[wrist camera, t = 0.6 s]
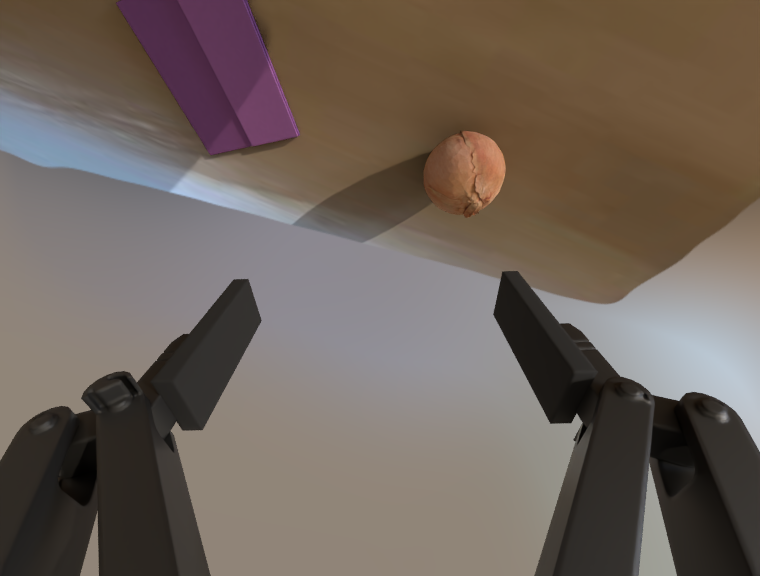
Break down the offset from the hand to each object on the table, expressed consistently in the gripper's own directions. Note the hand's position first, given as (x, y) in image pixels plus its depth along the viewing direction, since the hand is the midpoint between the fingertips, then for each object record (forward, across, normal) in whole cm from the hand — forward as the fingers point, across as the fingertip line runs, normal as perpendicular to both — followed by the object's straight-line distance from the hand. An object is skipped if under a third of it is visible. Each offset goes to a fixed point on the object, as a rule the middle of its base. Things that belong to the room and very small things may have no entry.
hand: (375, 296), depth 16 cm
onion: (+29, +11, +2) cm, 31 cm away
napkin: (+30, -18, +12) cm, 37 cm away
